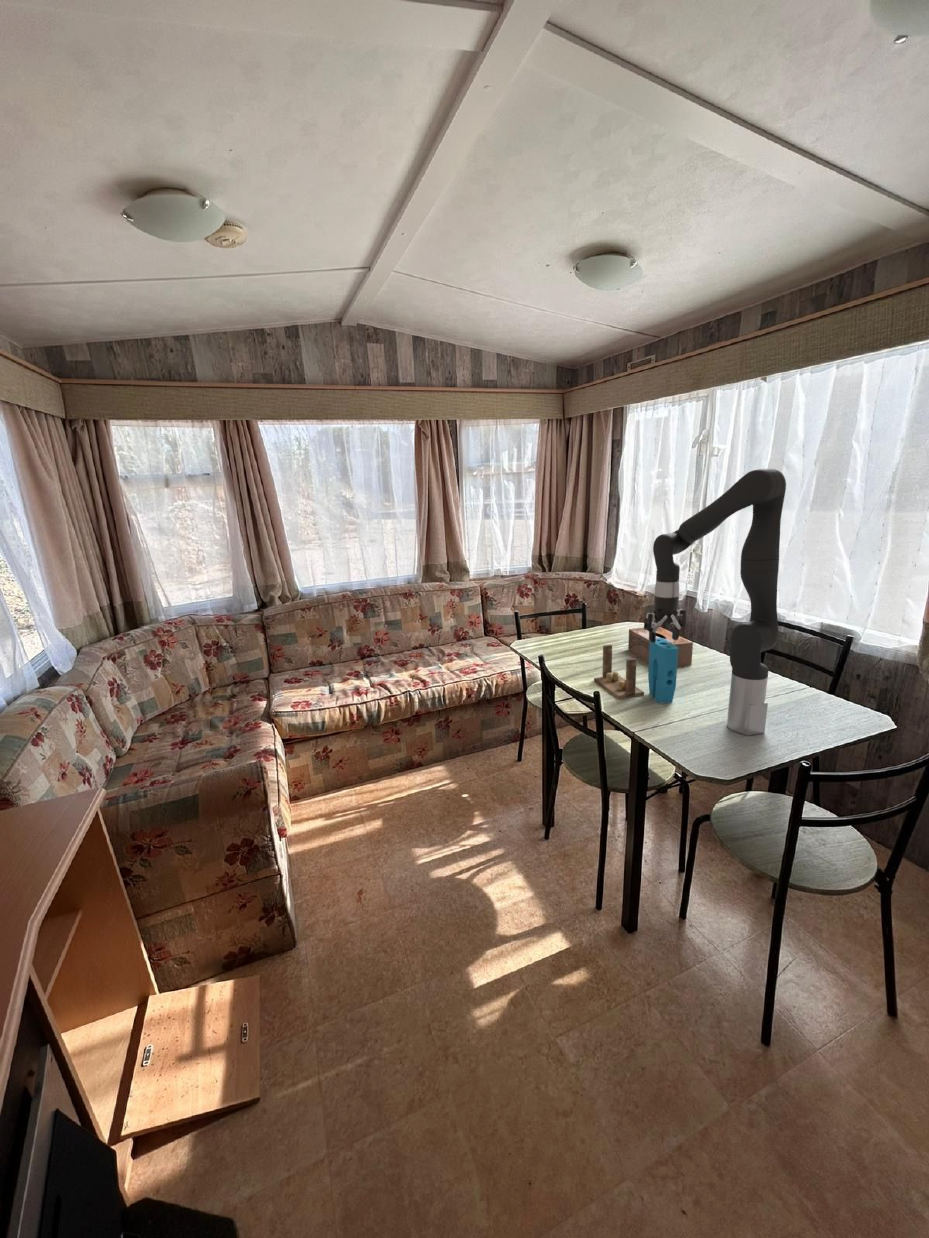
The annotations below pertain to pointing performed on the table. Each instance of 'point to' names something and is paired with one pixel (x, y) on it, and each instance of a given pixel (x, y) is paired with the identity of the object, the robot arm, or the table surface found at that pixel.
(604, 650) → the peg stand
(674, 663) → the block
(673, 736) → the table surface
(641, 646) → the tissue box cover
